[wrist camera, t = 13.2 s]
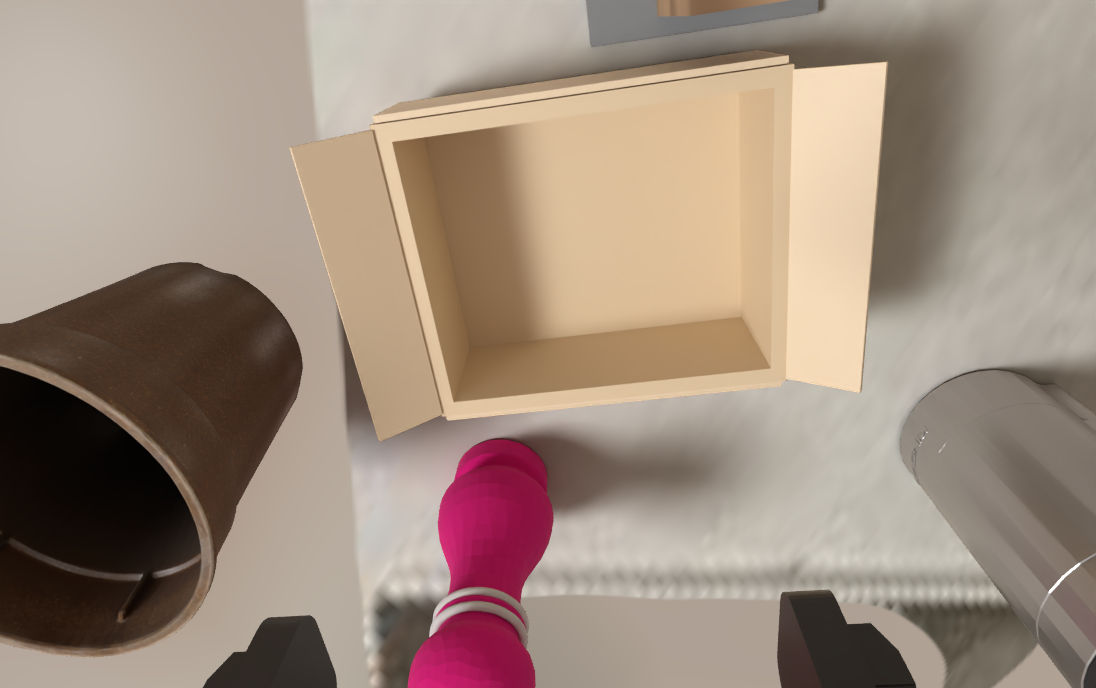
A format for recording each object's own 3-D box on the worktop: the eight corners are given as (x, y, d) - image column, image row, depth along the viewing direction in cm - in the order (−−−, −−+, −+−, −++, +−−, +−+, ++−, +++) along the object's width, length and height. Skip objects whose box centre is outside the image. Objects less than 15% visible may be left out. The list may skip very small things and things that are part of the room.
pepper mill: (448, 511, 47) (374, 815, 29) (452, 426, 44) (370, 710, 26) (549, 520, 47) (536, 830, 29) (559, 437, 44) (553, 727, 26)
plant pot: (20, 318, 41) (-277, 482, 27) (192, 167, 37) (-54, 265, 22) (217, 490, 47) (60, 702, 32) (386, 377, 42) (292, 565, 28)
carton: (811, 38, 33) (892, 45, 25) (802, 322, 40) (862, 402, 31) (349, 107, 35) (282, 134, 27) (416, 366, 42) (379, 450, 34)
